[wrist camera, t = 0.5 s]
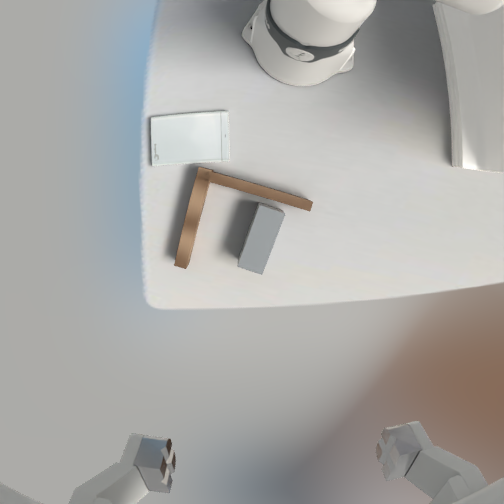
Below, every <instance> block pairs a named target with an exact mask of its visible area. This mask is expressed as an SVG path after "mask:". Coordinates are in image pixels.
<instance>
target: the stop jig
mask: <svg viewBox="0 0 504 504" xmlns="http://www.w3.org/2000/svg"><path fill="white" fill-rule="evenodd" d="M210 182H212V183H215V184H219V185H223V186H226V187H230V188H233V189H237V190H240V191H244V192H247V193H251V194H254V195H258V196H261V197H265V198H268V199H271V200H275V201H278V202H281V203H284V204H288V205H291V206H294V207H297V208H301V209H304V210H307V211H310V210H311V207H312V204H313V202H312V201H310V200H307V199H304V198H301V197H298V196H294V195H291V194H288V193H285V192H282V191H278V190H275V189H272V188H268V187H265V186H262V185H258V184H255V183H251V182H248V181H244V180H241V179H237V178H234V177H230V176H227V175H223V174H219V173H216V172H213V170H211V169H207V168H203V167H199V168H198V172H197V175H196V179H195V182H194V186H193V190H192V194H191V198H190V201H189V205H188V209H187V213H186V217H185V221H184V225H183V229H182V233H181V238H180V242H179V246H178V250H177V255H176V259H175V264H174V266H178V267H181V268H184V269H186V268H187V266H188V265H189V261H190V257H191V253H192V249H193V245H194V241H195V237H196V233H197V229H198V225H199V221H200V217H201V213H202V210H203V206H204V202H205V198H206V195H207V191H208V187H209V184H210Z"/></svg>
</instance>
